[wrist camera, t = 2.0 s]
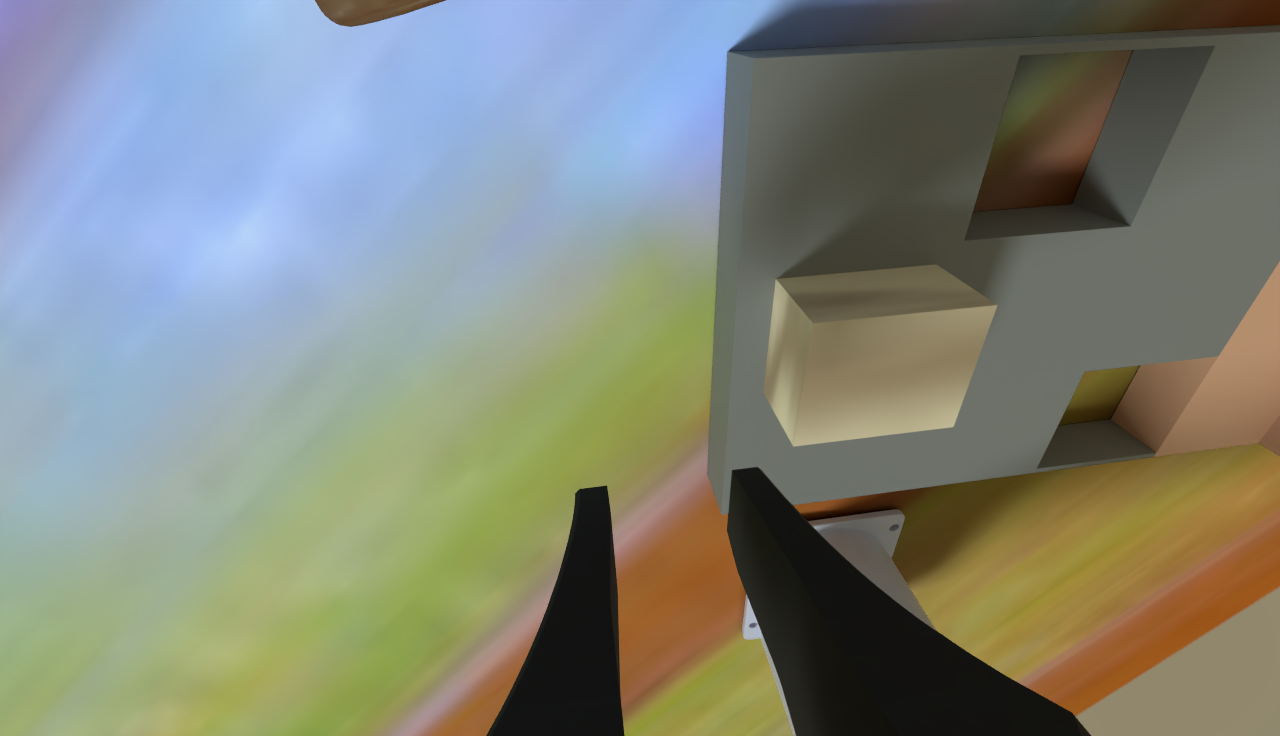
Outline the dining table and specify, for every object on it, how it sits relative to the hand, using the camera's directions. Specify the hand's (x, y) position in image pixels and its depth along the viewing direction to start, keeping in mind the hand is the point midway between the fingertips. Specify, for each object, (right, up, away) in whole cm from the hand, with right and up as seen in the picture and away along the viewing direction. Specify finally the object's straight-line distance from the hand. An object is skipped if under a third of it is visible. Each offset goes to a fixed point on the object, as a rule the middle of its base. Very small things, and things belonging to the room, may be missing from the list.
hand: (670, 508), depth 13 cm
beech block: (+6, +5, +6) cm, 10 cm away
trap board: (+16, +7, +9) cm, 19 cm away
